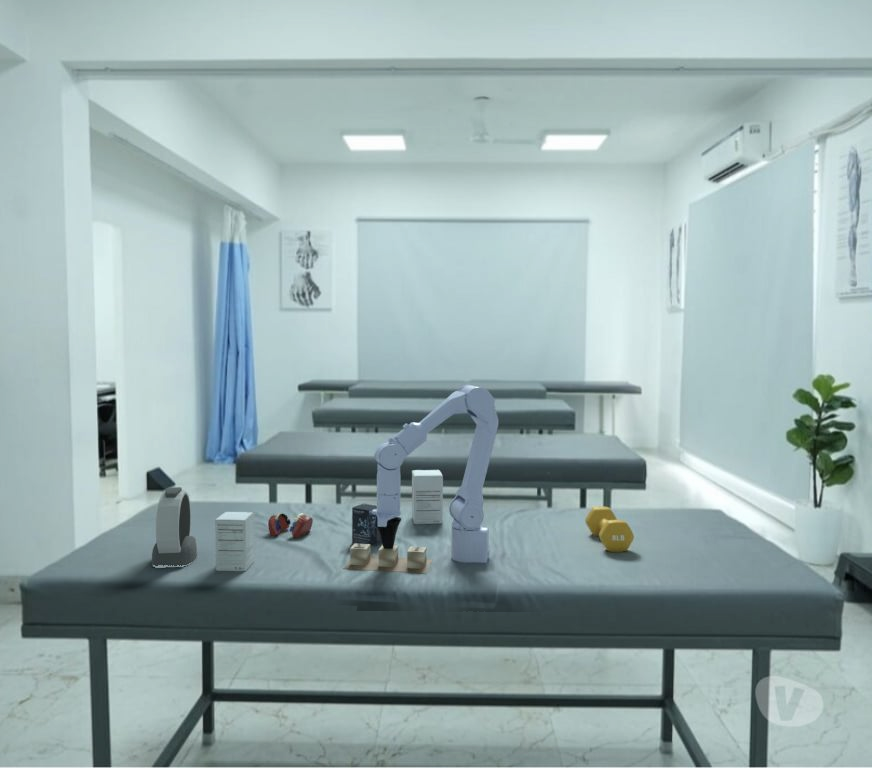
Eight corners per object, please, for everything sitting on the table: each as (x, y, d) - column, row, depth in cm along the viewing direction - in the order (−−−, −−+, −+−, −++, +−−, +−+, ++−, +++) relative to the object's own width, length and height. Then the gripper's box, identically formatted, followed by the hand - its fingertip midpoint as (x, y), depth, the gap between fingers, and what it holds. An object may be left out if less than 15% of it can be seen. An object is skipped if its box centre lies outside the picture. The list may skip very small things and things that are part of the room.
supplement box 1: (225, 561, 168) (224, 511, 168) (255, 561, 168) (254, 511, 167) (215, 571, 161) (214, 519, 160) (245, 571, 161) (245, 519, 160)
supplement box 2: (411, 517, 212) (411, 469, 211) (439, 516, 213) (439, 469, 212) (413, 524, 203) (413, 475, 202) (443, 524, 204) (443, 475, 203)
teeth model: (278, 507, 198) (315, 510, 195) (278, 528, 199) (316, 531, 196) (264, 515, 190) (303, 519, 187) (264, 537, 191) (303, 541, 188)
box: (351, 546, 182) (351, 507, 181) (363, 540, 187) (363, 502, 186) (375, 550, 178) (375, 511, 177) (387, 545, 183) (387, 506, 182)
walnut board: (432, 563, 168) (432, 559, 167) (425, 577, 158) (425, 573, 158) (354, 559, 170) (354, 555, 170) (342, 572, 161) (342, 568, 161)
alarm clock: (189, 569, 162) (188, 494, 161) (144, 571, 160) (143, 495, 159) (201, 549, 178) (200, 480, 177) (161, 551, 176) (159, 481, 175)
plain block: (398, 561, 166) (398, 545, 165) (394, 567, 162) (394, 550, 162) (382, 560, 166) (382, 544, 166) (378, 566, 162) (378, 549, 162)
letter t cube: (370, 560, 167) (370, 543, 166) (366, 565, 163) (366, 548, 163) (354, 559, 167) (354, 543, 167) (350, 564, 163) (350, 547, 163)
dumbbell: (583, 533, 196) (584, 505, 195) (614, 533, 196) (615, 505, 196) (600, 553, 177) (601, 522, 176) (635, 553, 177) (635, 522, 177)
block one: (426, 563, 165) (426, 546, 164) (423, 568, 161) (423, 551, 160) (410, 562, 165) (410, 545, 165) (407, 567, 161) (407, 550, 161)
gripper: (379, 486, 171) (379, 538, 172) (364, 499, 156) (364, 556, 157) (406, 487, 170) (406, 540, 170) (394, 500, 155) (394, 558, 156)
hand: (388, 548), depth 164 cm, fingers closed, pressing on plain block
